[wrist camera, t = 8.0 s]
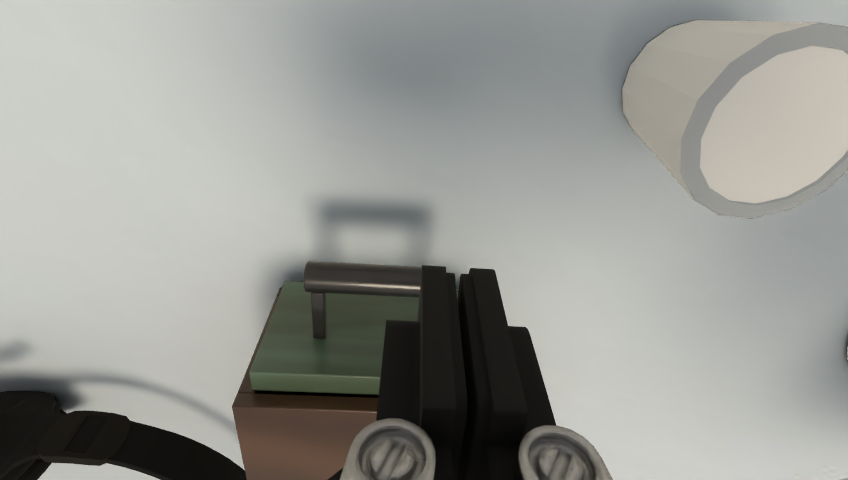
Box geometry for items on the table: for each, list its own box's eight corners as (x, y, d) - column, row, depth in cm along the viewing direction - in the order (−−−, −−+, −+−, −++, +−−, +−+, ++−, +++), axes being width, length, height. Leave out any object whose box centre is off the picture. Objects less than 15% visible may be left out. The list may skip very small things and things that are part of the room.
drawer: (278, 215, 24) (236, 297, 18) (476, 226, 25) (497, 309, 19) (298, 423, 33) (273, 523, 27) (444, 428, 33) (451, 527, 27)
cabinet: (279, 287, 27) (231, 406, 20) (472, 296, 28) (493, 415, 21) (294, 432, 34) (262, 560, 27) (448, 437, 35) (458, 563, 28)
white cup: (582, 130, 23) (642, 191, 17) (661, -21, 20) (771, -12, 14) (698, 170, 24) (792, 240, 18) (791, 36, 21) (944, 66, 15)
